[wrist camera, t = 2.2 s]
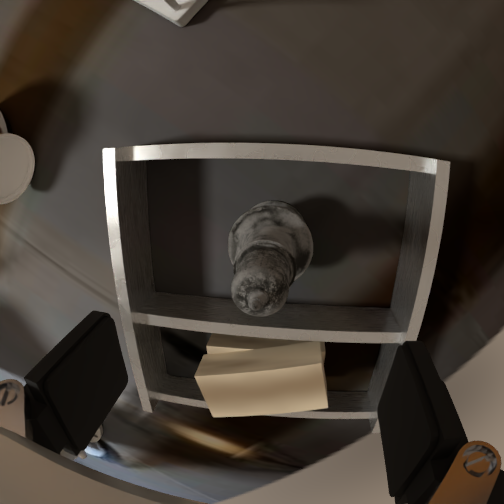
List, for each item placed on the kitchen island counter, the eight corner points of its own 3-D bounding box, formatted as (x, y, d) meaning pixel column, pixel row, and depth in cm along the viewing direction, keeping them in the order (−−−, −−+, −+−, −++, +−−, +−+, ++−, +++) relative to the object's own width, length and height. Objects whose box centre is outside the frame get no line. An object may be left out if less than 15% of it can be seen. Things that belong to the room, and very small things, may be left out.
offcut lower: (318, 374, 30) (319, 394, 27) (218, 368, 31) (211, 387, 28) (323, 332, 28) (325, 352, 25) (214, 327, 29) (206, 345, 27)
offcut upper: (326, 384, 26) (328, 407, 24) (220, 395, 28) (213, 417, 26) (319, 340, 25) (321, 363, 22) (203, 354, 27) (194, 376, 24)
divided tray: (374, 398, 30) (381, 432, 25) (160, 379, 32) (143, 410, 28) (422, 157, 22) (450, 161, 17) (135, 146, 24) (102, 149, 20)
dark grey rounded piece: (230, 201, 25) (177, 252, 14) (306, 192, 24) (316, 237, 13) (242, 271, 27) (205, 362, 16) (314, 264, 26) (324, 356, 15)
